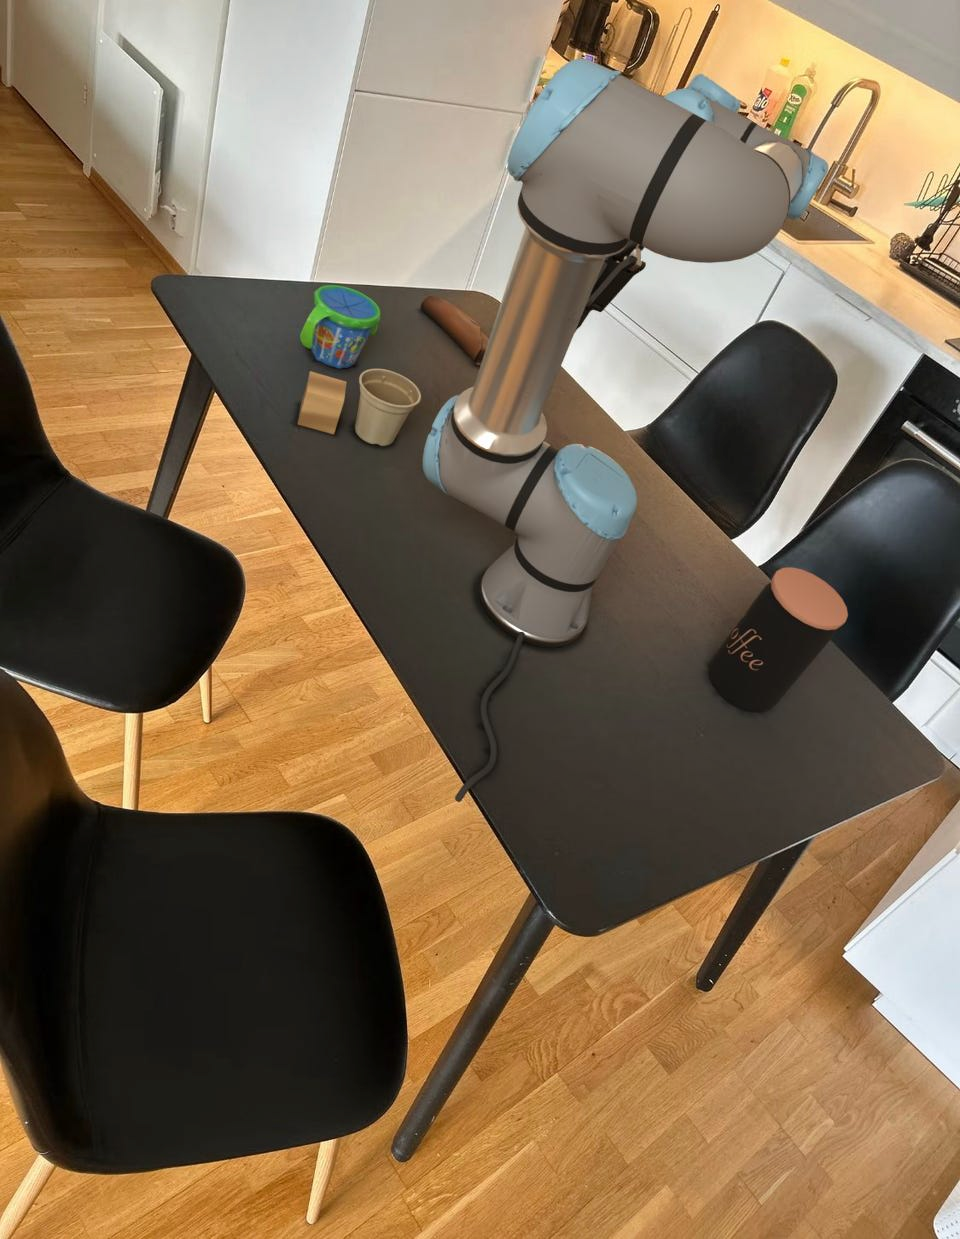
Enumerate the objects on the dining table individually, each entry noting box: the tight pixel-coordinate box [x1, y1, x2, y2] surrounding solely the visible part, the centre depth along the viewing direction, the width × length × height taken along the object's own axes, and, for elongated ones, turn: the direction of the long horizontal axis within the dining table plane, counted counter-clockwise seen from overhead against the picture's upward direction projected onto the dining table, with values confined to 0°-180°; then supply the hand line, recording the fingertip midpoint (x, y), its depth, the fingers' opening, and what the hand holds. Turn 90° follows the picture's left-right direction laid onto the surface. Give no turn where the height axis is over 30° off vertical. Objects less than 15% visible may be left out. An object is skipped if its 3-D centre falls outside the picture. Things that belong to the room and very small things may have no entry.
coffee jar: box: [708, 566, 849, 713], centre depth 131 cm, size 11×11×18 cm
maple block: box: [297, 370, 347, 435], centre depth 145 cm, size 6×6×6 cm
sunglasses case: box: [420, 295, 489, 367], centre depth 181 cm, size 18×7×7 cm
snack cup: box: [299, 284, 381, 370], centre depth 158 cm, size 16×10×10 cm
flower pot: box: [354, 368, 422, 447], centre depth 146 cm, size 9×9×9 cm
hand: (557, 340), depth 147 cm, fingers closed
